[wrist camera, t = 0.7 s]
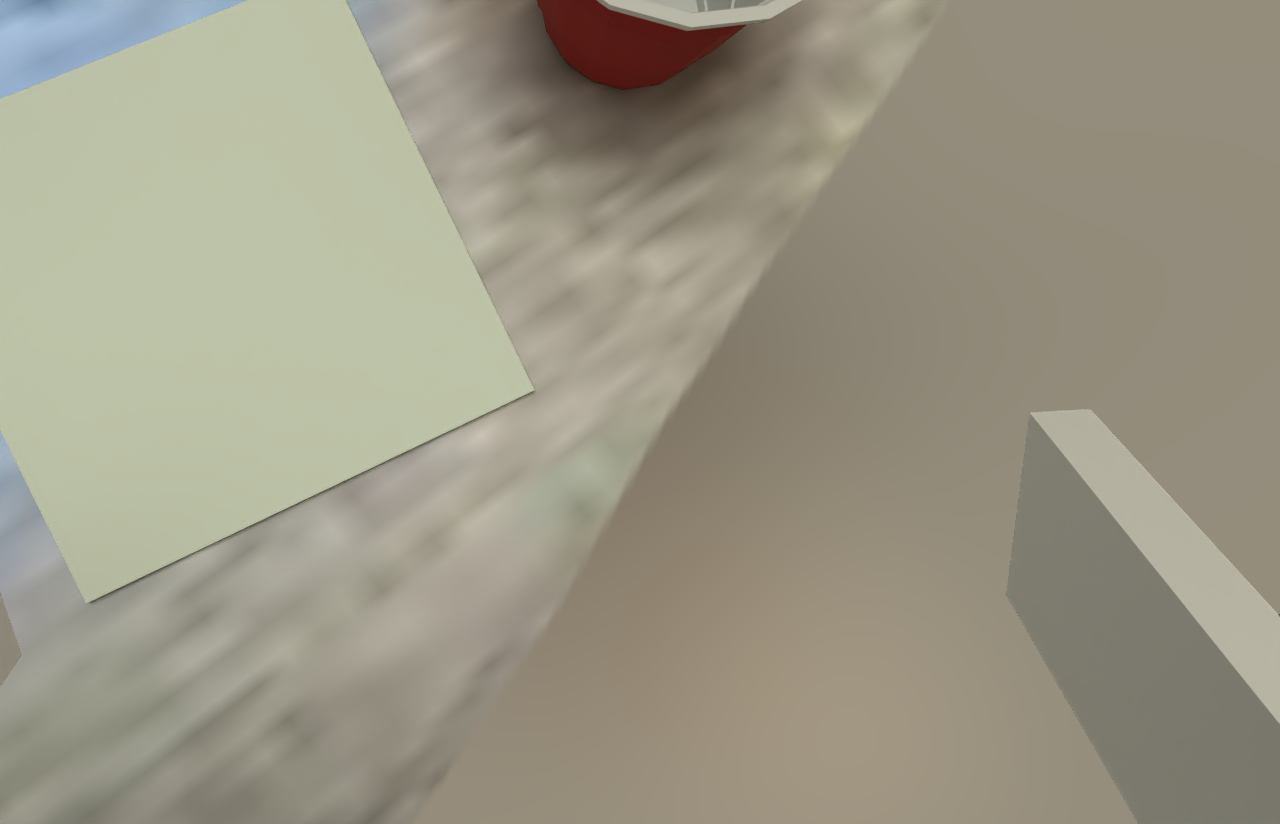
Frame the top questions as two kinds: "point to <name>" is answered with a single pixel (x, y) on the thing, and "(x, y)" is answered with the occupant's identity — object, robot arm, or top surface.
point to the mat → (225, 287)
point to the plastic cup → (646, 34)
